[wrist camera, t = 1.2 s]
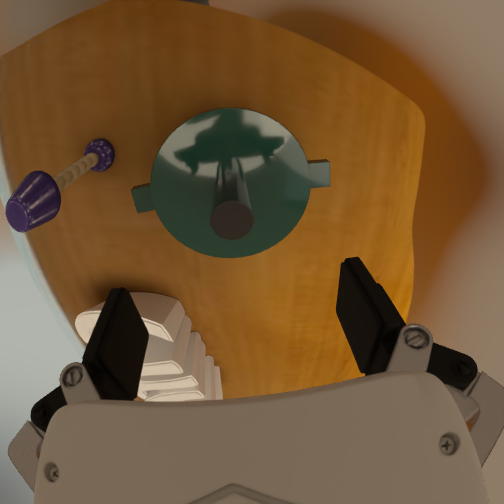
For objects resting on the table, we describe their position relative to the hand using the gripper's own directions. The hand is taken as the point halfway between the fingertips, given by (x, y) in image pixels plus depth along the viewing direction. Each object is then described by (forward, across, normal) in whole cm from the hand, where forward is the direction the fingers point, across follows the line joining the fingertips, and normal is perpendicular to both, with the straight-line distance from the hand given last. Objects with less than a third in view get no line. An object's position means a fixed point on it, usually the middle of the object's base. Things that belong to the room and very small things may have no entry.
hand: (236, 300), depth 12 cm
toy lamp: (+23, +16, -4) cm, 29 cm away
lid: (+14, 0, 0) cm, 14 cm away
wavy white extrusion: (+24, +17, +30) cm, 42 cm away
